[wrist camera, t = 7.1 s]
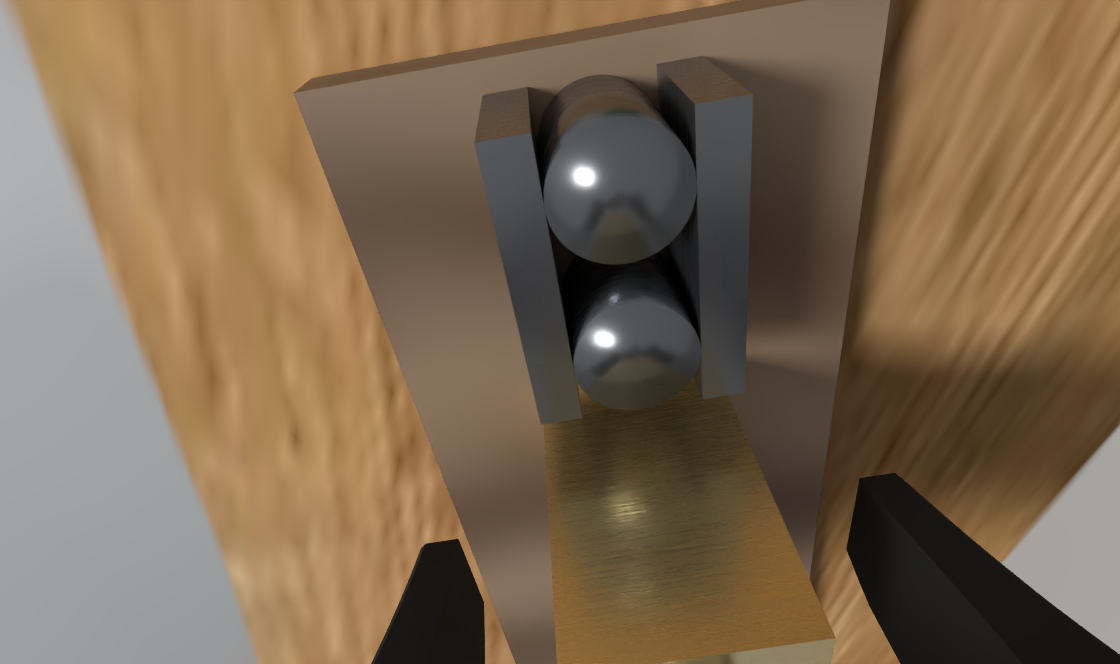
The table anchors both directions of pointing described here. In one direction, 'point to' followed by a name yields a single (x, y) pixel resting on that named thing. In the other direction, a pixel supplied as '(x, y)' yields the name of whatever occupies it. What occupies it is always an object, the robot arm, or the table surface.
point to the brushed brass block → (672, 542)
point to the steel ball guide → (625, 234)
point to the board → (479, 278)
